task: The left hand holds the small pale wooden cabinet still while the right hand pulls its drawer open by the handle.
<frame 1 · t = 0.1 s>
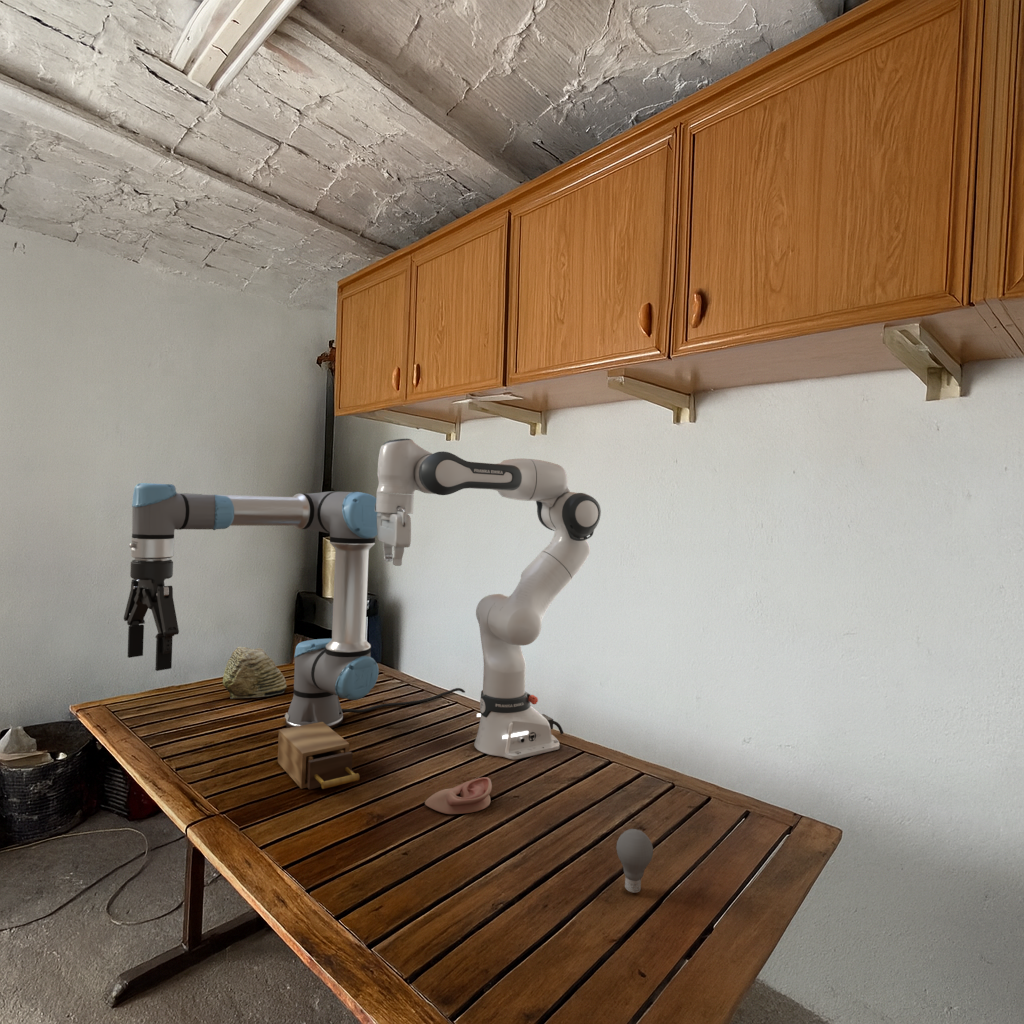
left hand: (148, 662, 129), 28 cm above the table, tool pointing down, fingers open, 13 cm apart
right hand: (392, 563, 152), 48 cm above the table, tool pointing down, fingers open, 8 cm apart
light bulb: (632, 891, 106), on the table
fossil: (254, 694, 198), on the table
drawer: (323, 763, 141), point 4 cm above the table, slide at 2.0 cm
cabinet: (312, 769, 147), on the table
anatomical model: (458, 802, 134), on the table
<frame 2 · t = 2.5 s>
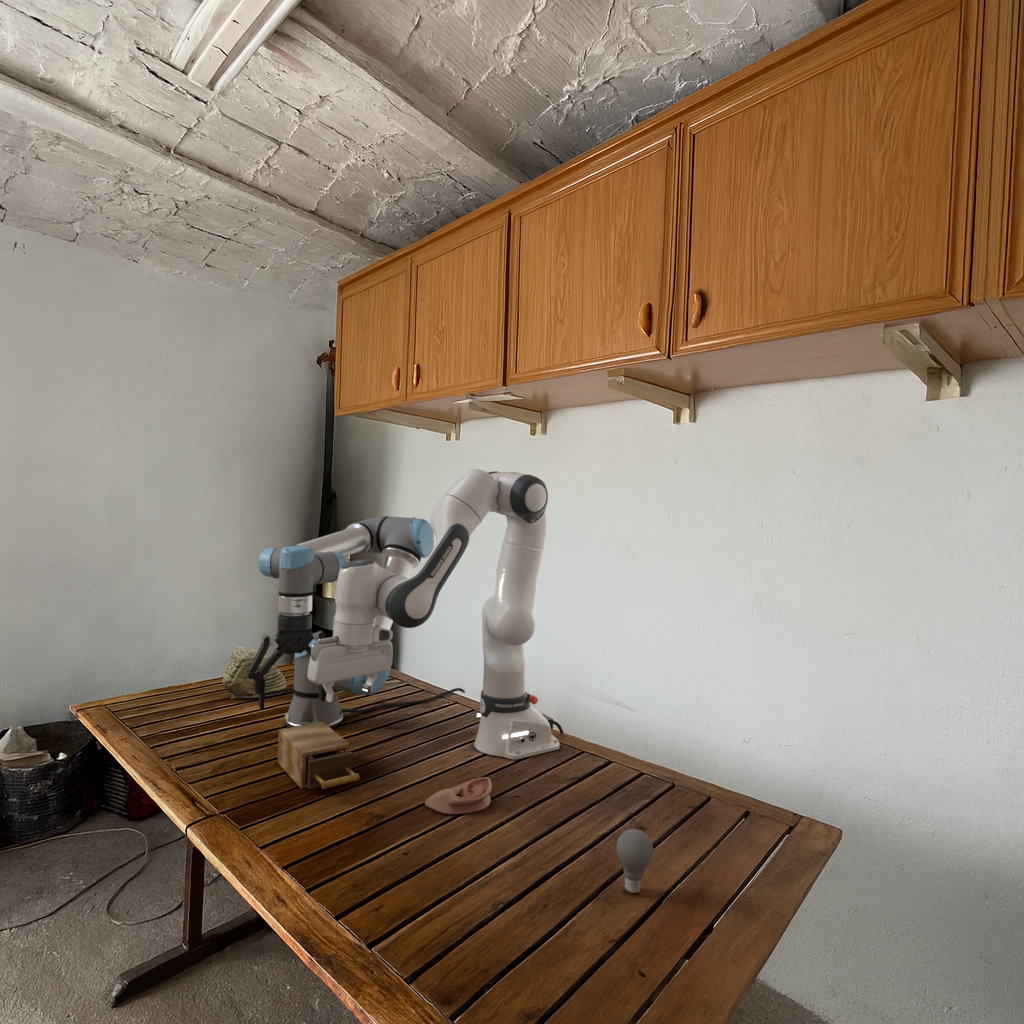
left hand: (292, 703, 148), 15 cm above the table, tool pointing down, fingers open, 13 cm apart
right hand: (349, 696, 138), 20 cm above the table, tool pointing down, fingers open, 8 cm apart
nothing on the table moved.
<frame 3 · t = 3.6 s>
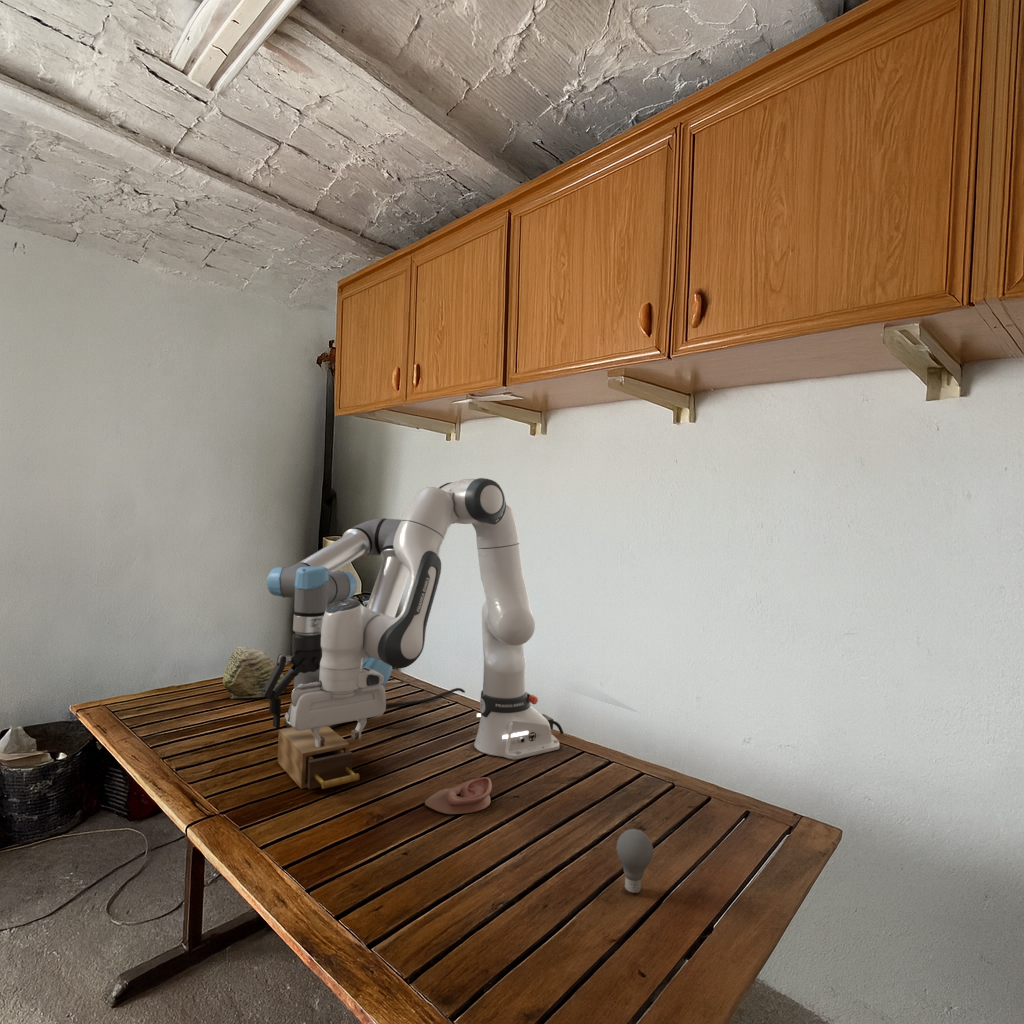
left hand: (305, 721, 150), 10 cm above the table, tool pointing down, fingers open, 13 cm apart
right hand: (338, 742, 135), 11 cm above the table, tool pointing down, fingers open, 7 cm apart
nothing on the table moved.
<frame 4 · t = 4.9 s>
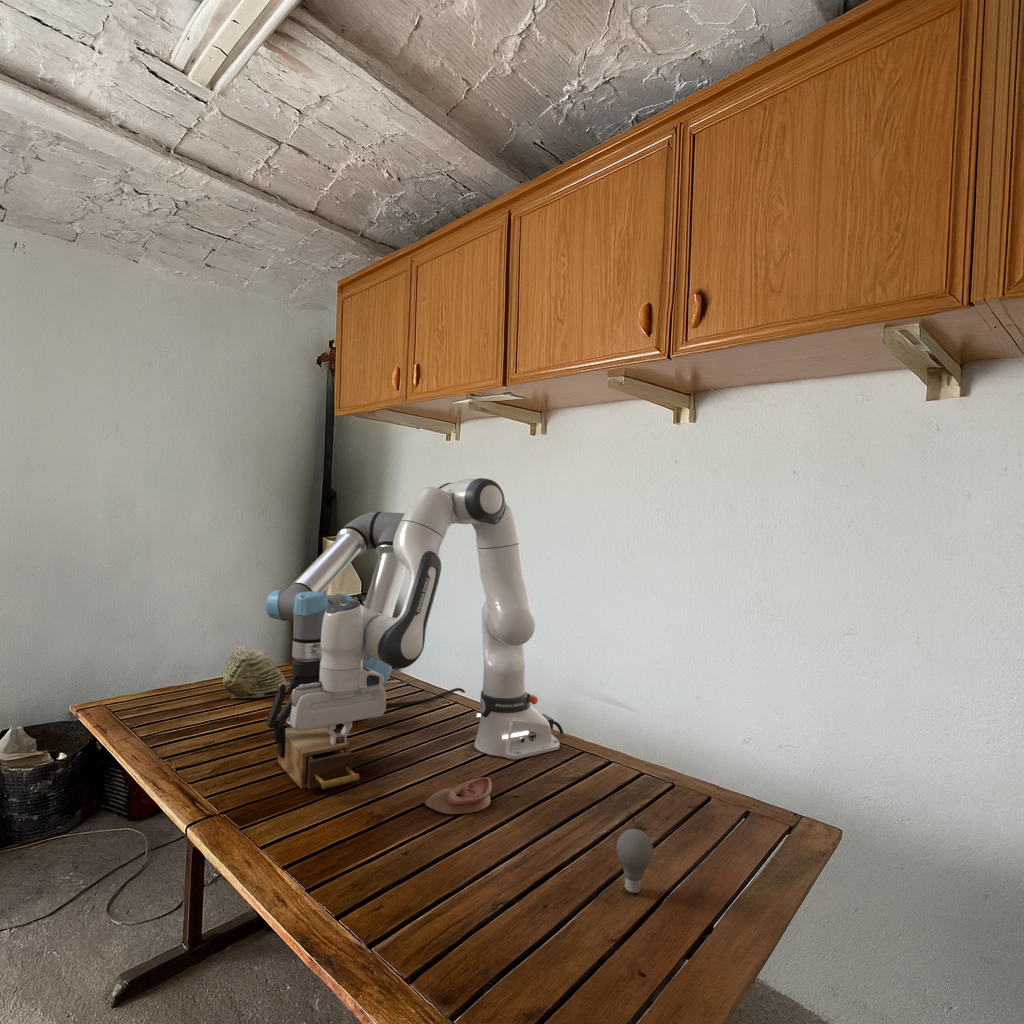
left hand: (305, 750, 150), 3 cm above the table, tool pointing down, fingers closed on cabinet, 11 cm apart
right hand: (338, 743, 135), 11 cm above the table, tool pointing down, fingers closed
cabinet: (312, 769, 147), on the table, touching left hand
everything else where it was.
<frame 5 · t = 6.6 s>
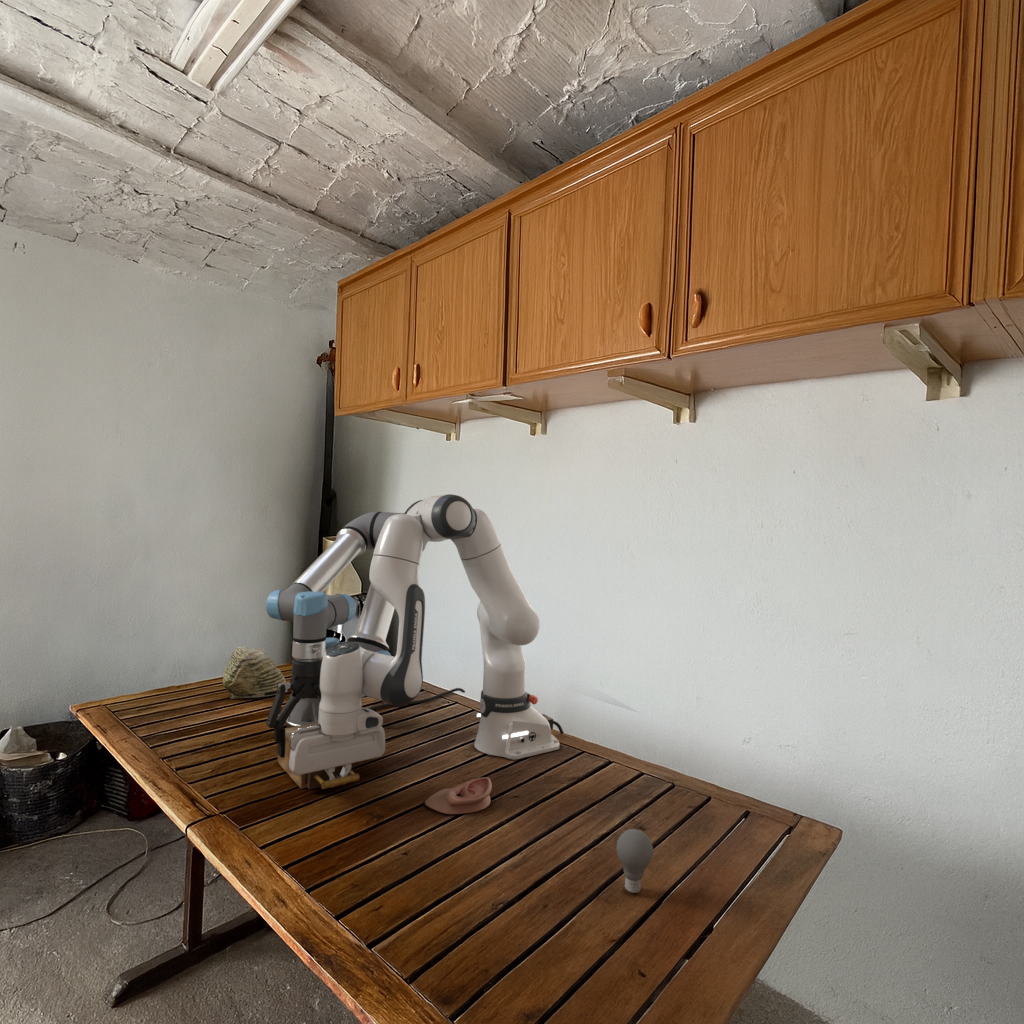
left hand: (305, 750, 150), 3 cm above the table, tool pointing down, fingers closed on cabinet, 11 cm apart
right hand: (337, 784, 135), 2 cm above the table, tool pointing down, fingers closed, pressing on drawer
drawer: (323, 763, 141), point 4 cm above the table, slide at 2.0 cm, touching right hand
cabinet: (311, 769, 147), on the table, touching left hand
everything else where it was.
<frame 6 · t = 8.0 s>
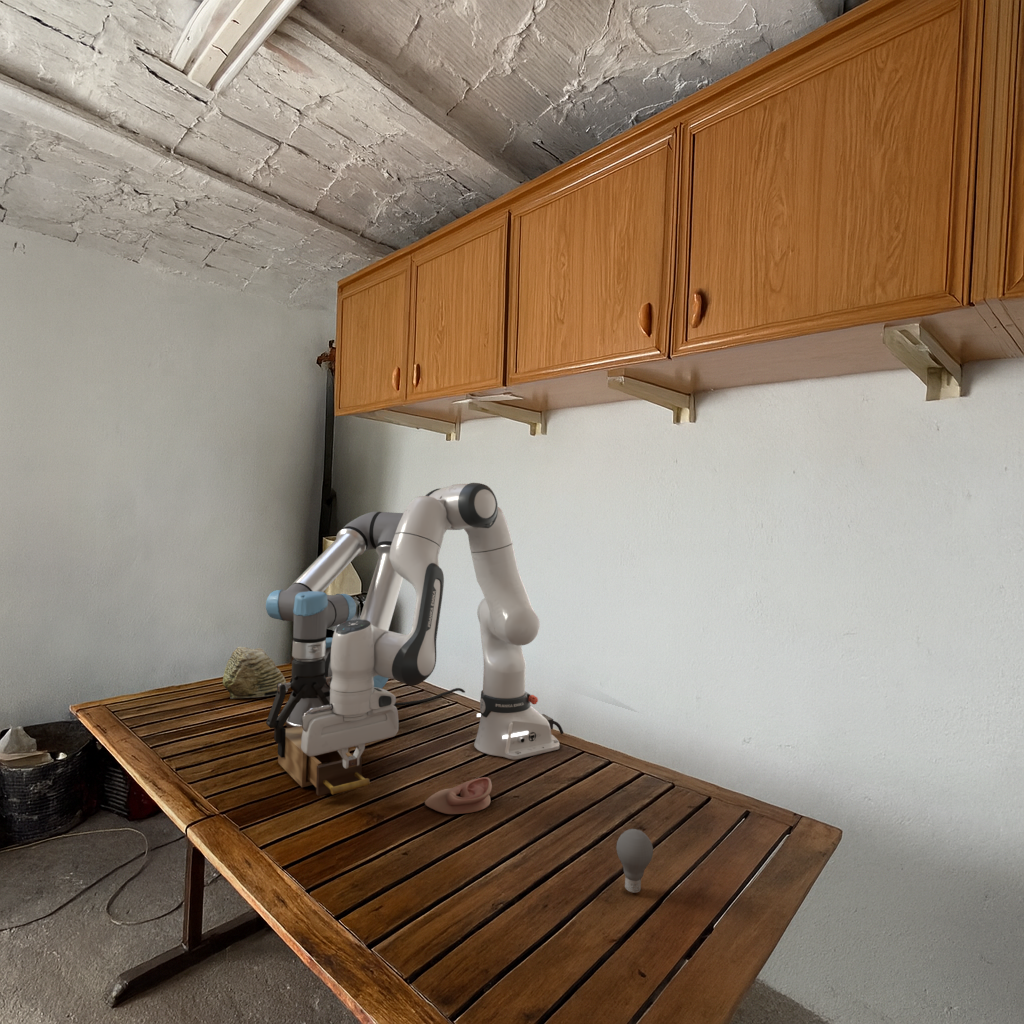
left hand: (305, 750, 150), 3 cm above the table, tool pointing down, fingers closed on cabinet, 11 cm apart
right hand: (350, 766, 131), 8 cm above the table, tool pointing down, fingers closed
drawer: (332, 769, 137), point 4 cm above the table, slide at 6.7 cm
cabinet: (312, 769, 146), on the table, touching left hand
everything else where it was.
when the left hand's fingers open (3 cm above the table, at t = 9.1 s): cabinet stays where it is, on the table.
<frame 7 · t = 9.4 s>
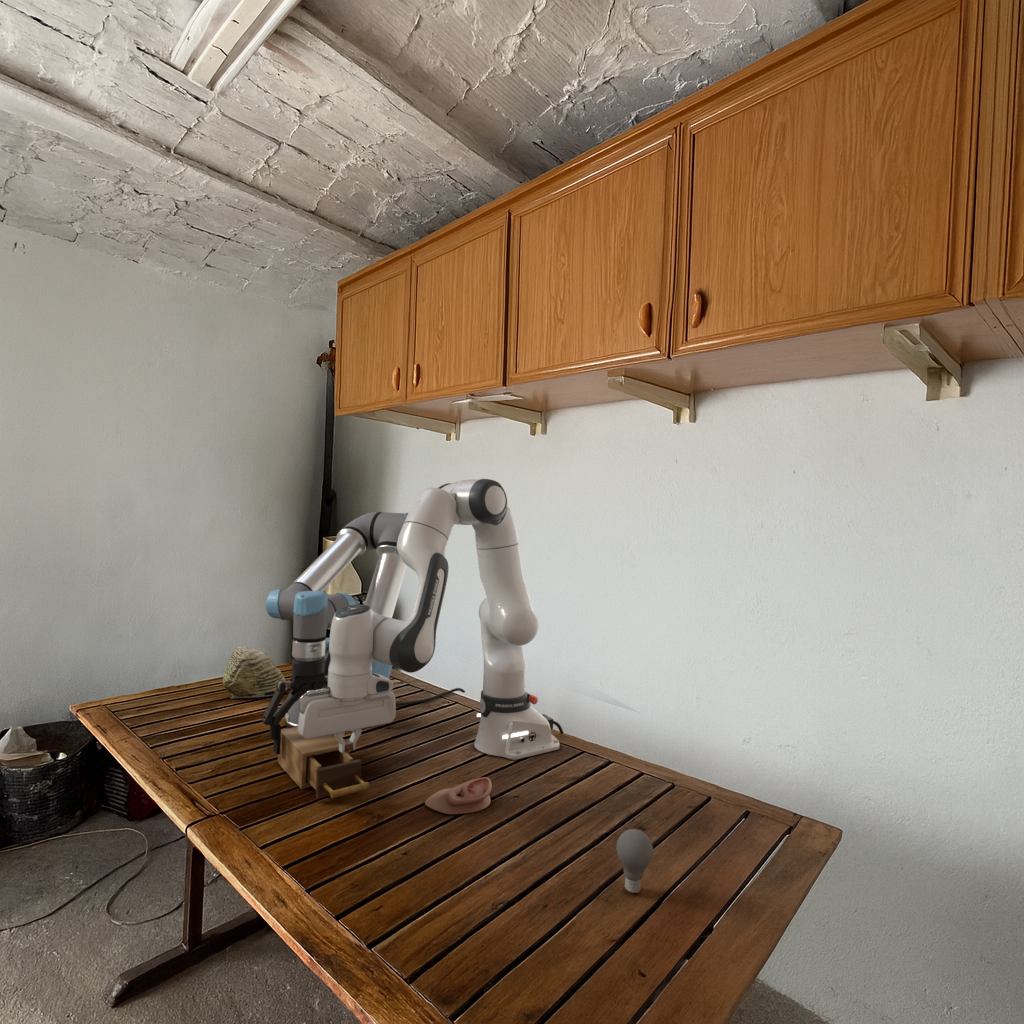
left hand: (305, 746, 150), 4 cm above the table, tool pointing down, fingers open, 13 cm apart
right hand: (347, 750, 131), 11 cm above the table, tool pointing down, fingers closed
cabinet: (312, 770, 146), on the table
everything else where it was.
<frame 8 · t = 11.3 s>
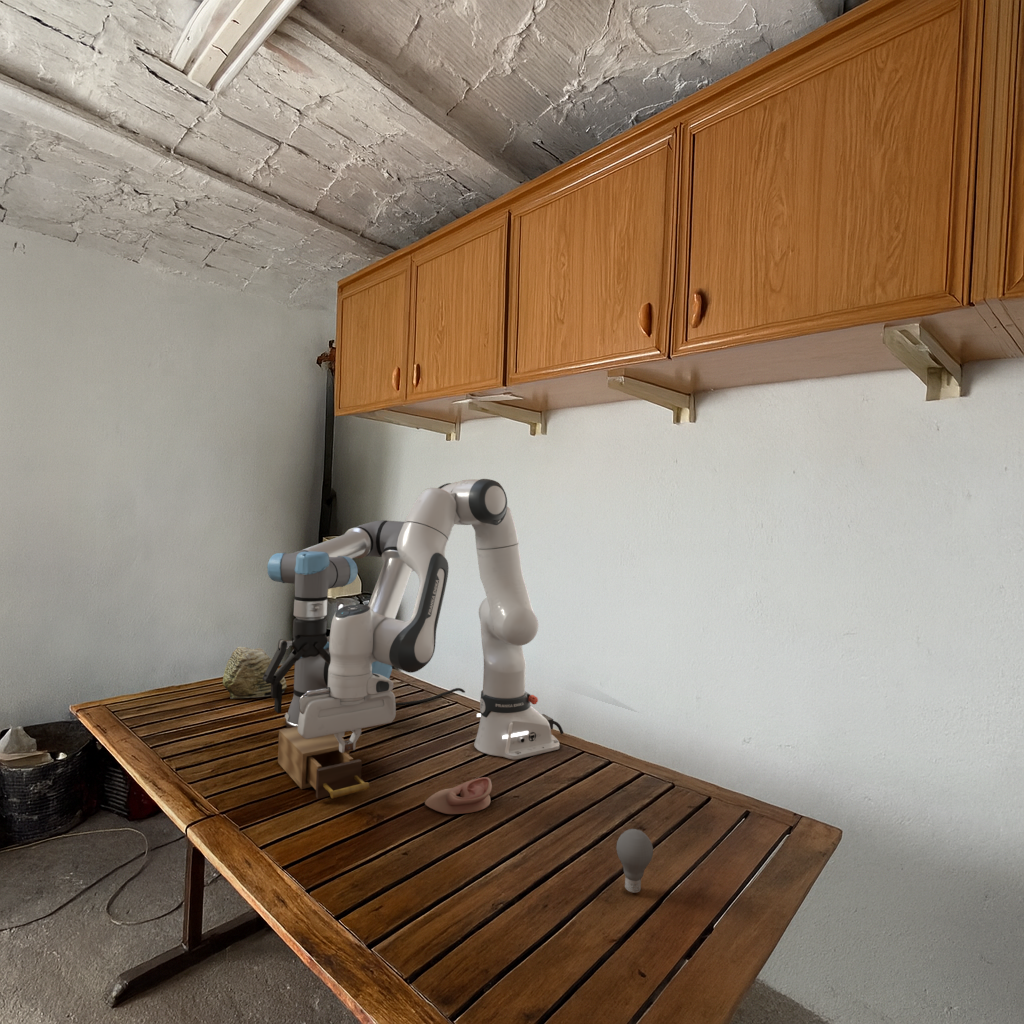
left hand: (306, 706, 150), 13 cm above the table, tool pointing down, fingers open, 13 cm apart
right hand: (347, 750, 131), 11 cm above the table, tool pointing down, fingers closed
nothing on the table moved.
at the end: drawer slide at 6.7 cm; cabinet tilted 0°; cabinet never tilted more than 2° during the clip; cabinet moved 0.2 cm from its start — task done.
